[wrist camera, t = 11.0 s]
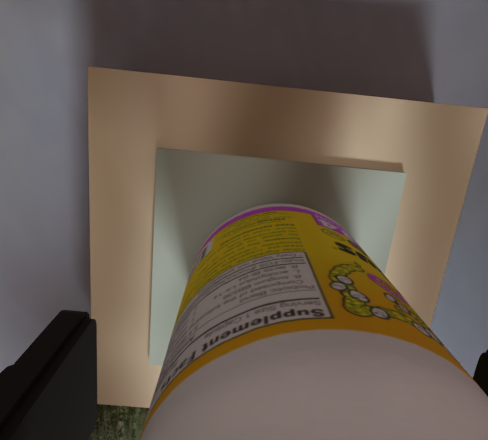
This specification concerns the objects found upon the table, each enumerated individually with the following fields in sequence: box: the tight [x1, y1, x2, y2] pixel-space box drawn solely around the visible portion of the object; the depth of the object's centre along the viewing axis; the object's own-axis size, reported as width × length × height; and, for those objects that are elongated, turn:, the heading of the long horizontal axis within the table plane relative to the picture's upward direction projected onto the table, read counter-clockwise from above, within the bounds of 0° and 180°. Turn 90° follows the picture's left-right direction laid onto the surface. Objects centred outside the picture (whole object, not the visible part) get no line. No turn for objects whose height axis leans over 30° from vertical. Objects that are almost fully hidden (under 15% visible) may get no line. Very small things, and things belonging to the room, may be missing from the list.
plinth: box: [88, 66, 488, 408], centre depth 17 cm, size 14×14×4 cm
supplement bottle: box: [139, 204, 488, 440], centre depth 9 cm, size 7×7×13 cm
